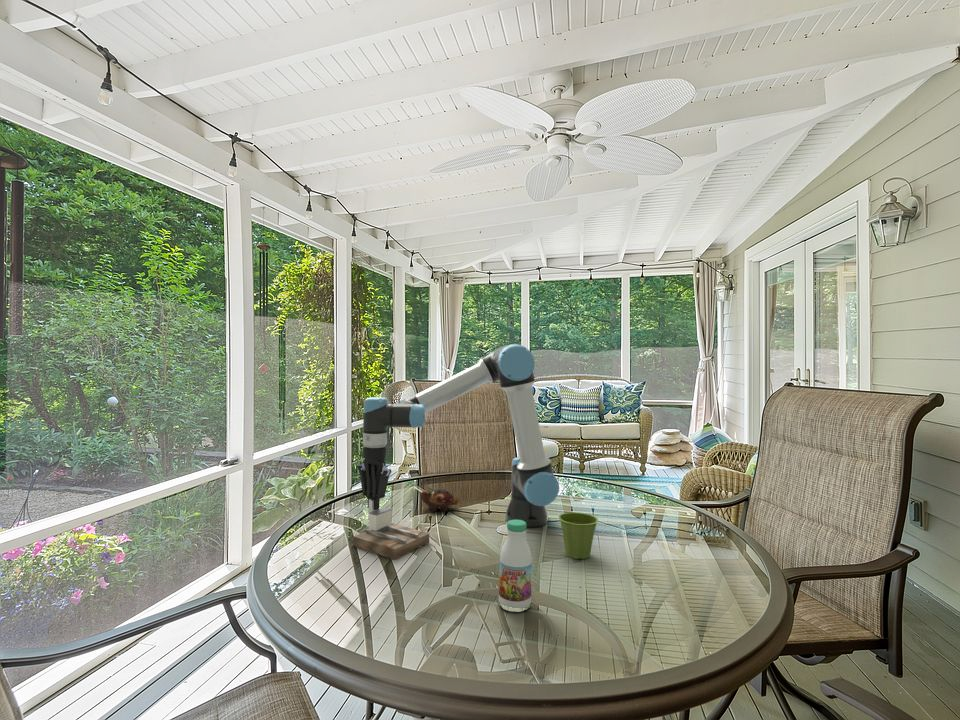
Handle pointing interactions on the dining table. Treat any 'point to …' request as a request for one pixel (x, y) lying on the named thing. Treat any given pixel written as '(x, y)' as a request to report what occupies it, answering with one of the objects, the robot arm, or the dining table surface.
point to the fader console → (391, 541)
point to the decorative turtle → (438, 499)
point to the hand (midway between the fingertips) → (373, 519)
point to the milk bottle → (515, 567)
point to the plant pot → (578, 533)
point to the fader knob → (380, 519)
